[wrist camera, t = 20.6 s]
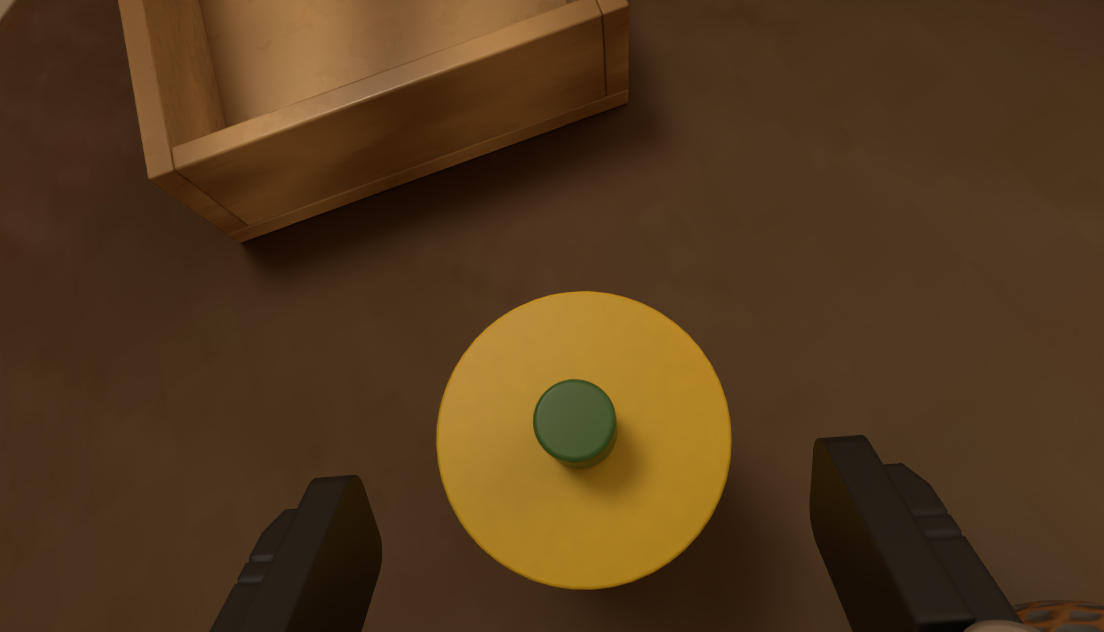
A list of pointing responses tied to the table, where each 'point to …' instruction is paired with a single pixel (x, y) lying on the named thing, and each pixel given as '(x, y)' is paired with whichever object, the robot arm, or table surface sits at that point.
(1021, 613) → the vase
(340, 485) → the robot arm
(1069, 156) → the table surface
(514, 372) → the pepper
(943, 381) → the table surface
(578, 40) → the tray
